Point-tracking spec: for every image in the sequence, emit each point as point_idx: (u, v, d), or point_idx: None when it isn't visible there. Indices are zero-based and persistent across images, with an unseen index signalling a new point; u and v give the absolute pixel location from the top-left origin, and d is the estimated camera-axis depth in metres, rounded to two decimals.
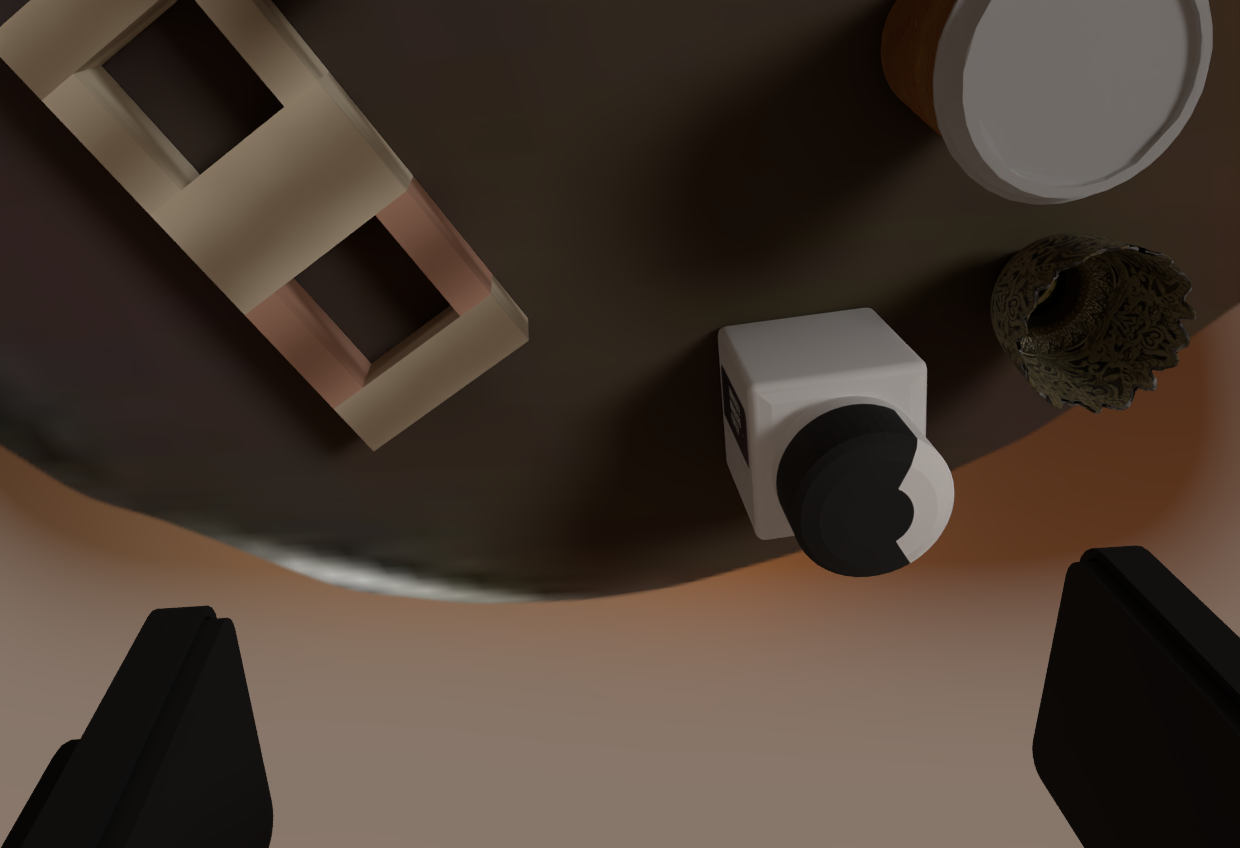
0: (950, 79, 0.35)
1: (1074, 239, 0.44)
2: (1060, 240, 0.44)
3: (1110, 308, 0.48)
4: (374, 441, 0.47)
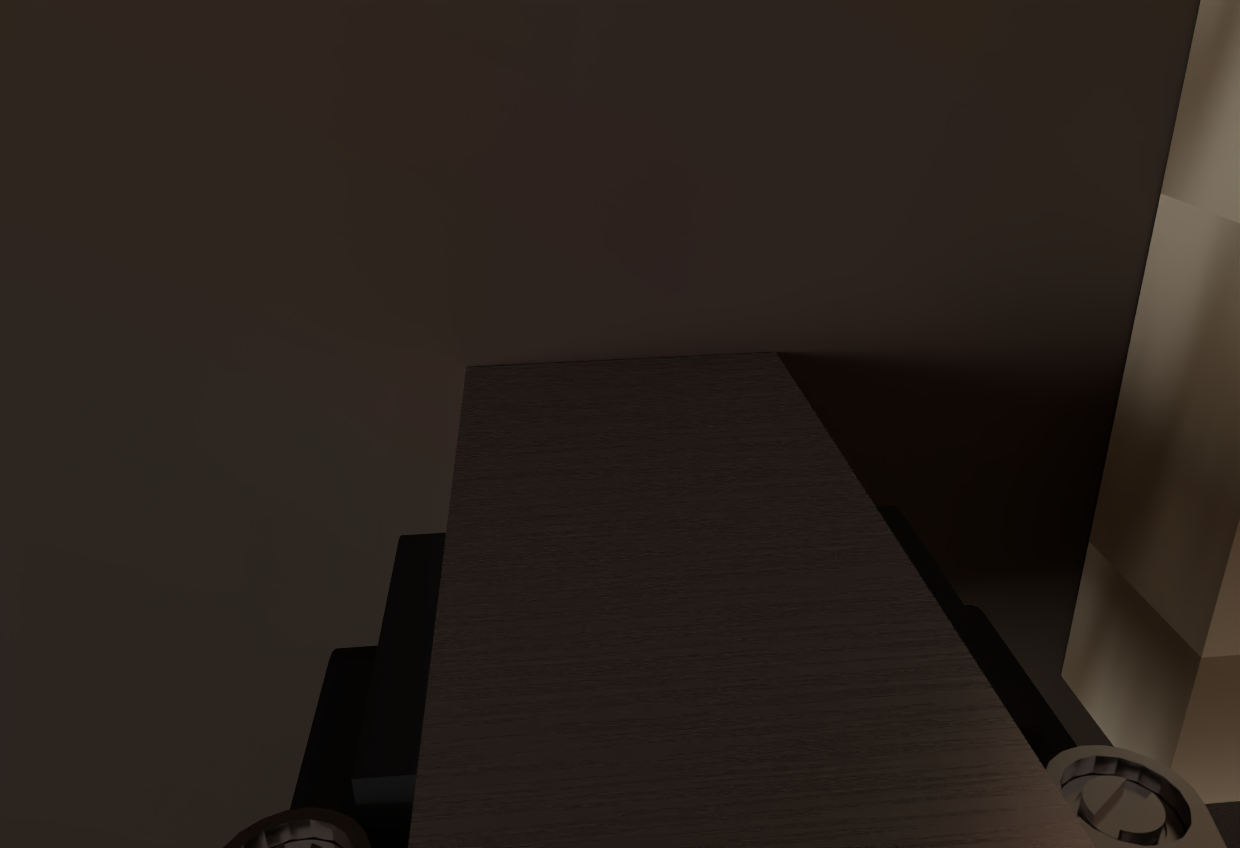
0: None
1: None
2: None
3: None
4: None
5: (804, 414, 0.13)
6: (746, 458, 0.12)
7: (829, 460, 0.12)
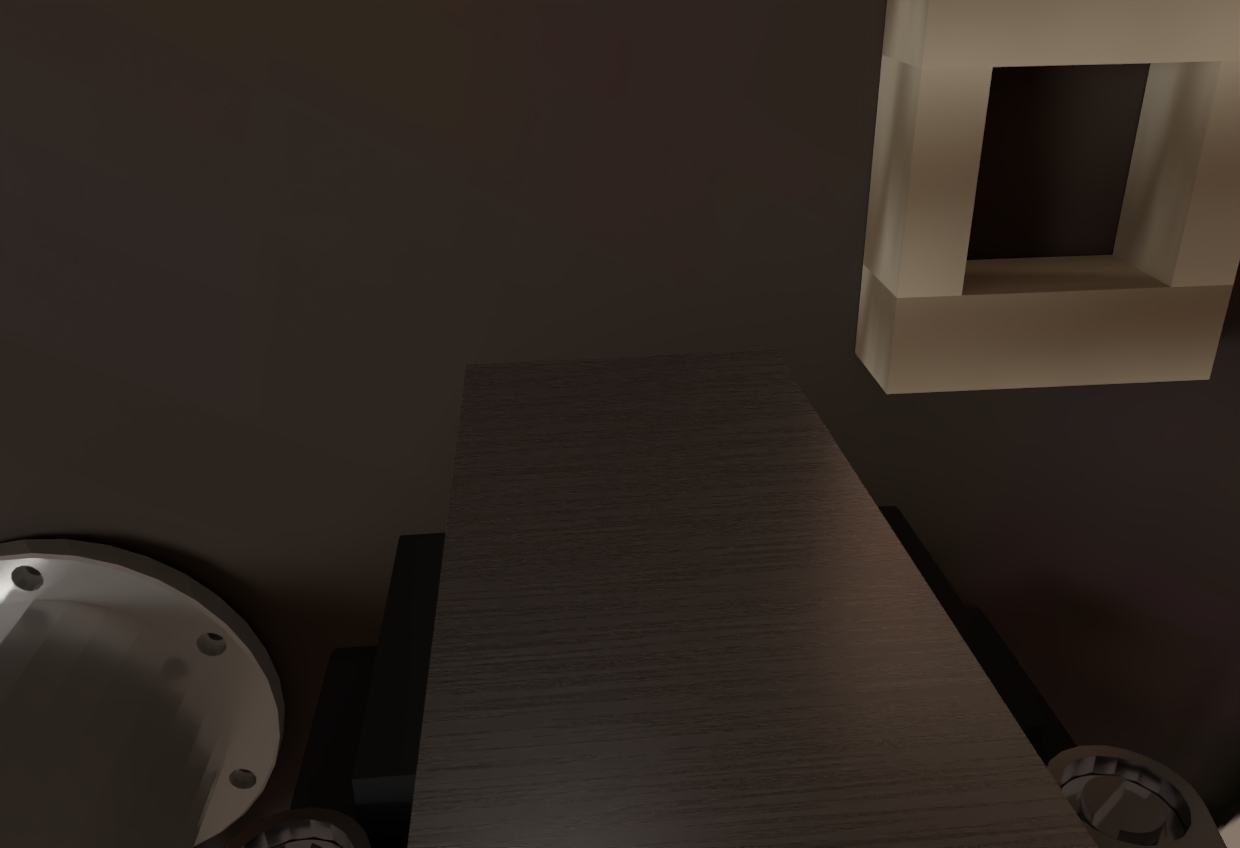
0: None
1: None
2: None
3: None
4: None
5: (804, 411, 0.13)
6: (746, 454, 0.12)
7: (829, 457, 0.12)
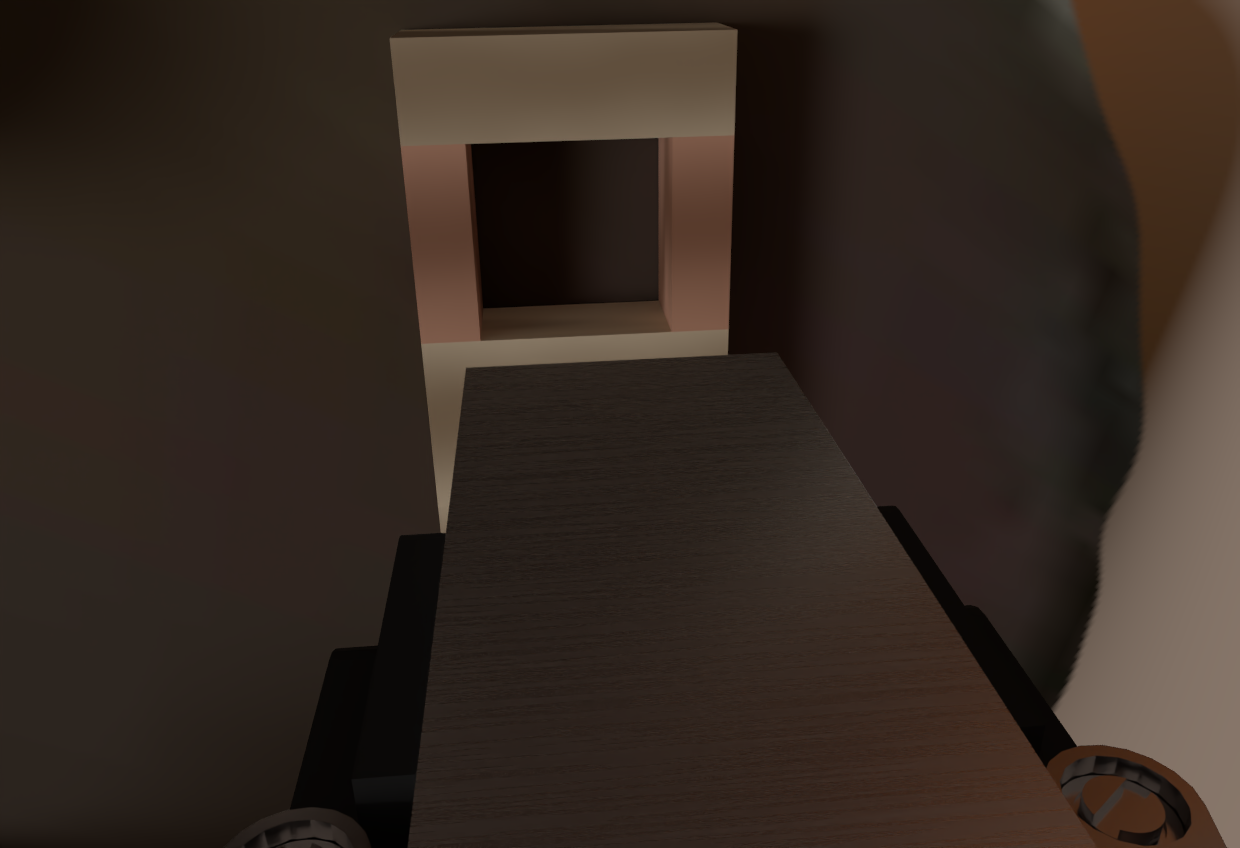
0: None
1: None
2: None
3: None
4: (723, 44, 0.27)
5: (805, 415, 0.13)
6: (747, 459, 0.12)
7: (831, 461, 0.12)
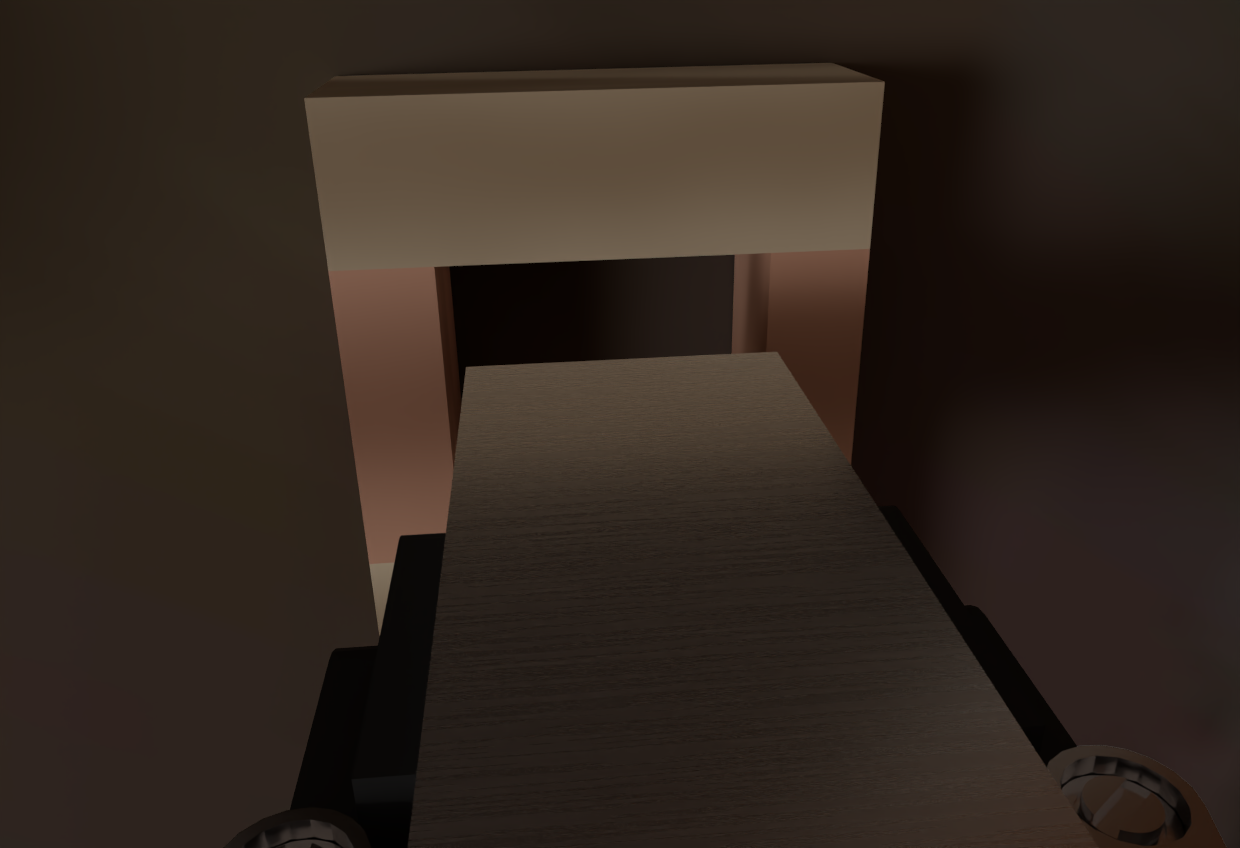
0: None
1: None
2: None
3: None
4: (860, 105, 0.16)
5: (805, 414, 0.13)
6: (748, 457, 0.12)
7: (831, 460, 0.12)
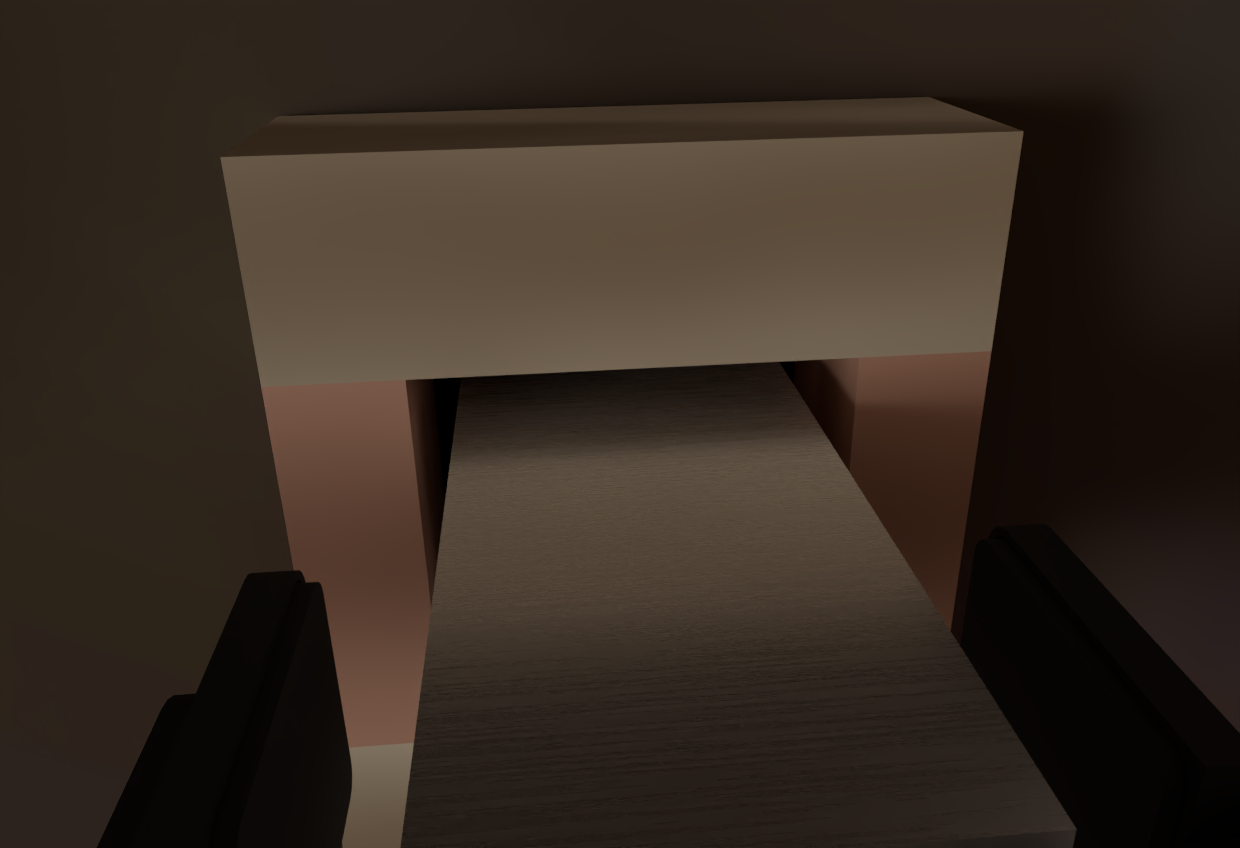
0: None
1: None
2: None
3: None
4: (988, 163, 0.12)
5: (778, 377, 0.14)
6: (723, 414, 0.13)
7: (798, 416, 0.13)
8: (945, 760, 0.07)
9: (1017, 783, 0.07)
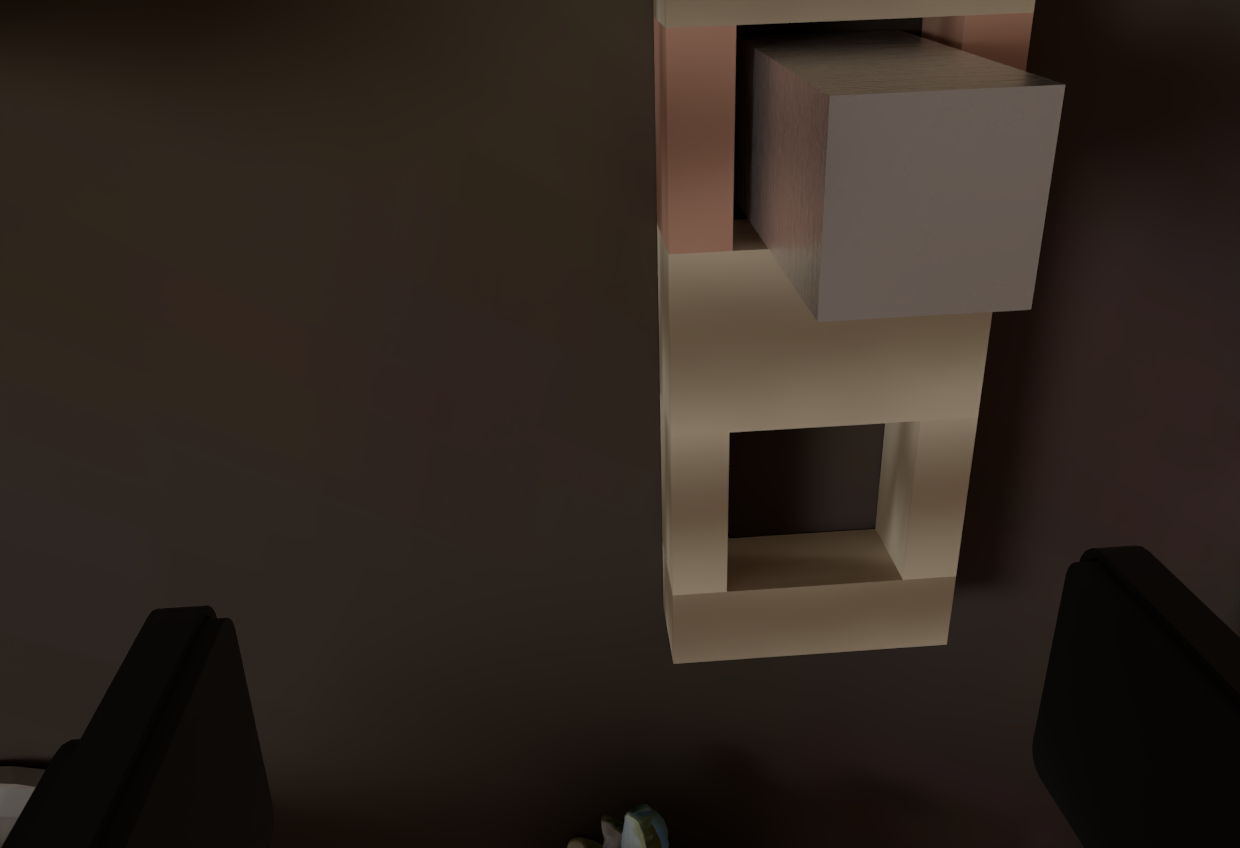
0: None
1: None
2: None
3: None
4: None
5: (918, 38, 0.26)
6: (894, 45, 0.25)
7: (934, 44, 0.25)
8: (1017, 80, 0.20)
9: (1044, 81, 0.19)
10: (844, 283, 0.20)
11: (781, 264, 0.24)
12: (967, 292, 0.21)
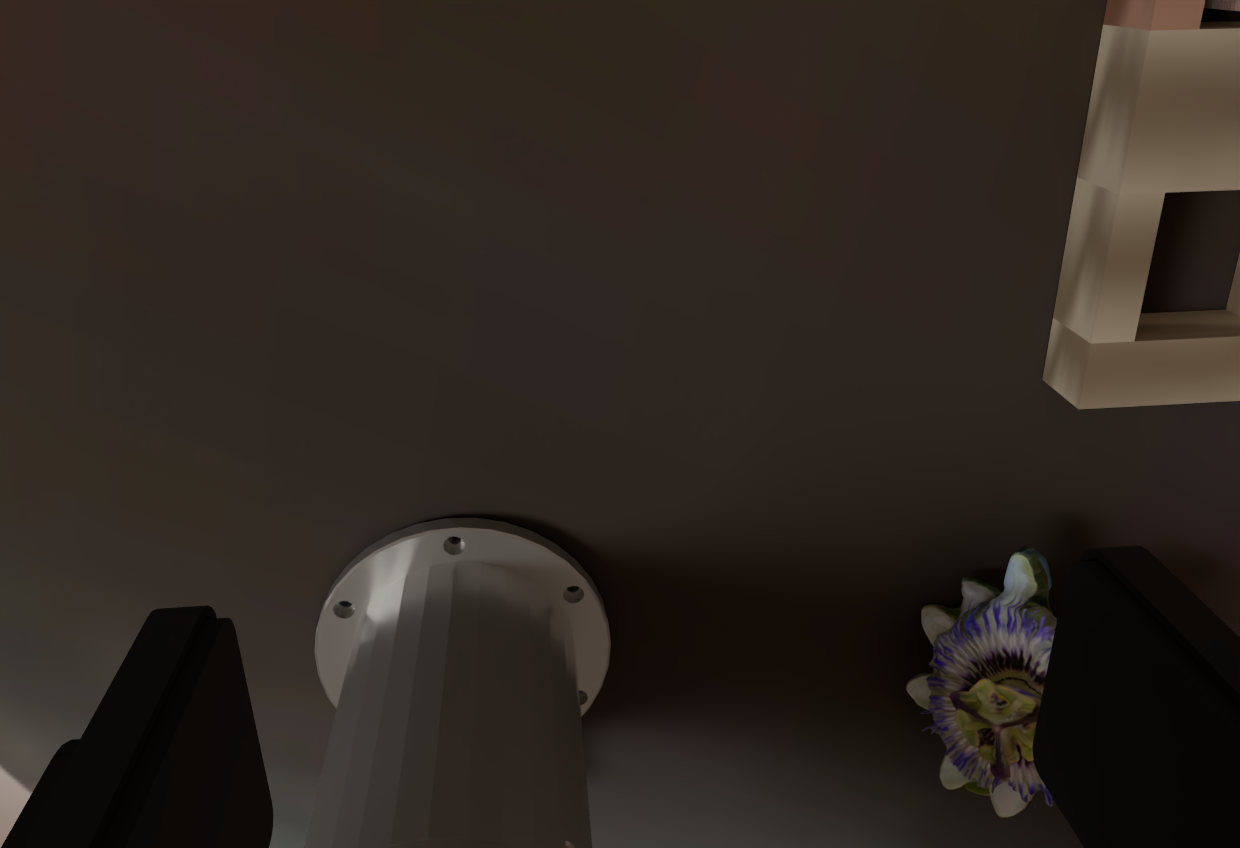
0: None
1: None
2: None
3: None
4: None
5: None
6: None
7: None
8: None
9: None
10: None
11: None
12: None
